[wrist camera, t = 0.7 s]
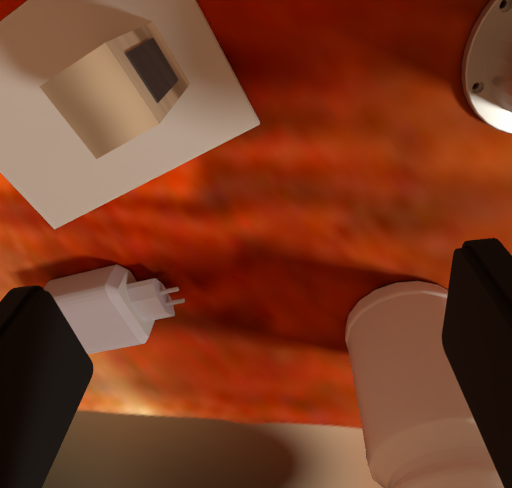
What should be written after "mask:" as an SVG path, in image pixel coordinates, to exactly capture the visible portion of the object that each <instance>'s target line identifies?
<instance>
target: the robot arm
mask: <svg viewBox="0 0 512 488" xmlns="http://www.w3.org/2000/svg"><path fill="white" fill-rule="evenodd" d="M503 1H504V4H503V6H502V7H501V8H499V7H500V3H501V2H502V0H490V1H489V3H488V4H487V5H486V7H485V8H484V9H483V11H482V12H481V14H480V16H479V18H478V19H477V21H476V23H475V25H474V26H473V28H472V31H471V33H470V36H469V38H468V41H467V43H466V46H465V51H464V55H463V60H462V74H461V80H462V85H463V91H464V95H465V97H466V99H467V102H468V104H469V106H470V107H471V109H472V110H473V111H474V113H475V114H476V115H477V116H478V117H479V118H480V119H482V120H483V121H484V122H485V123H487V124H488V125H490V126H492V127H493V128H495V129H497V130H499V131H503V132H506V133H509V134H512V0H503ZM475 83H477V84H476V86H475V87H474V88H472V87H473V85H474V84H475ZM442 345H443V349H444V351H445V354H446V356H447V358H448V361H449V363H450V365H451V368H452V370H453V372H454V374H455V377H456V379H457V381H458V384H459V386H460V388H461V390H462V393H463V395H464V397H465V400H466V402H467V404H468V406H469V409H470V411H471V413H472V416H473V418H474V420H475V422H476V425H477V427H478V429H479V432H480V434H481V436H482V438H483V441H484V443H485V445H486V448H487V450H488V452H489V454H490V457H491V459H492V461H493V464H494V466H495V468H496V470H497V473H498V475H499V477H500V479H501V482H502V484H503V486H504V488H512V256H511V255H510V253H509V252H508V251H507V250H506V248H505V247H504V246H503V245H502V244H501V242H500V241H499V240H498V239H495V238H489V239H480V240H470V241H465V242H464V244H463V246H462V248H459V249H455V251H454V254H453V261H452V268H451V275H450V281H449V288H448V295H447V302H446V309H445V315H444V322H443V329H442ZM92 374H93V363H92V361H91V359H90V358H89V356H88V354H87V353H86V351H85V349H84V348H83V346H82V344H81V343H80V341H79V339H78V338H77V336H76V334H75V333H74V331H73V329H72V328H71V326H70V324H69V323H68V321H67V320H66V318H65V316H64V315H63V313H62V311H61V310H60V308H59V306H58V305H57V303H56V301H55V300H54V298H53V296H52V295H51V294H50V292H48V291H45V290H44V289H43V288H42V287H40V286H27V287H17V288H13V289H11V290H10V291H9V292H8V293H7V294H6V296H5V297H4V298H3V299H2V300H1V302H0V488H42V486H43V484H44V481H45V479H46V477H47V475H48V473H49V470H50V468H51V466H52V464H53V462H54V459H55V457H56V455H57V453H58V451H59V448H60V446H61V444H62V442H63V439H64V437H65V435H66V433H67V431H68V428H69V426H70V424H71V422H72V419H73V417H74V415H75V413H76V411H77V408H78V406H79V404H80V402H81V400H82V397H83V395H84V393H85V391H86V388H87V386H88V384H89V382H90V380H91V377H92Z"/></svg>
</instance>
